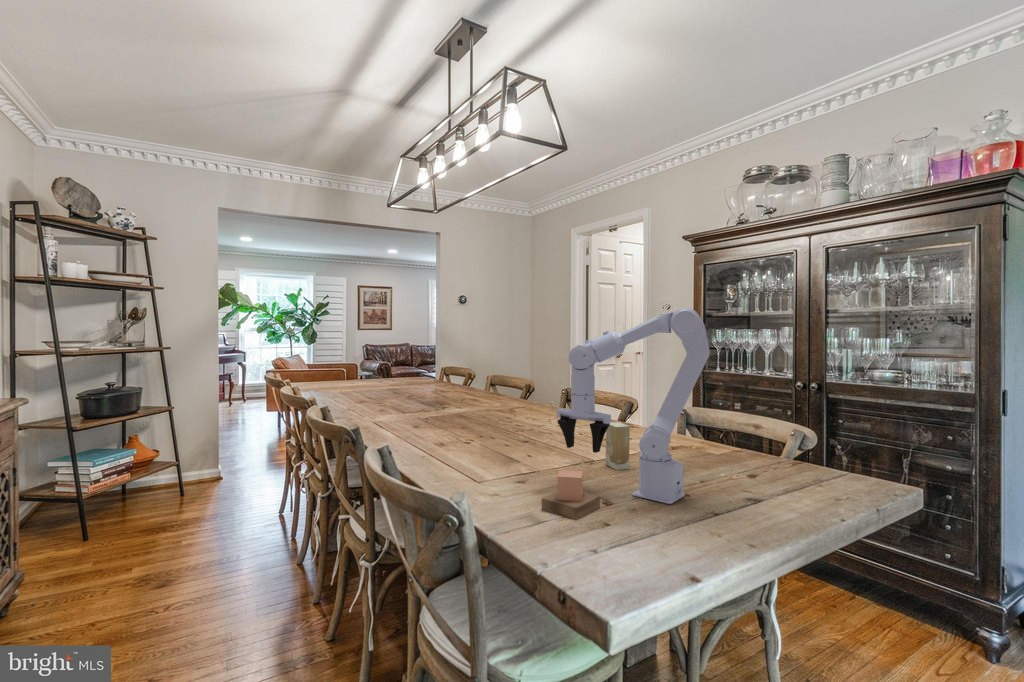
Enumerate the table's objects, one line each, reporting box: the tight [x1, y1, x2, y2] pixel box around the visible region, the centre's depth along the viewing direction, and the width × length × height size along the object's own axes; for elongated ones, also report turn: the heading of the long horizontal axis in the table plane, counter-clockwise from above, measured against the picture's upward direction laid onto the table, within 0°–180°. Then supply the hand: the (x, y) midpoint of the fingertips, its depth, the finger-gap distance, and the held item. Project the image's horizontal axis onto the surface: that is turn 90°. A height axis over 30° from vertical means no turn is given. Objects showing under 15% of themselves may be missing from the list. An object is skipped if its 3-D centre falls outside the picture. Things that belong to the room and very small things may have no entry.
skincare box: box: [605, 421, 631, 471], centre depth 139 cm, size 6×4×12 cm
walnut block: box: [541, 491, 601, 521], centre depth 106 cm, size 9×9×3 cm
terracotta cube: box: [557, 469, 584, 501], centre depth 106 cm, size 5×5×5 cm
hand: (583, 449), depth 121 cm, fingers open, 7 cm apart
